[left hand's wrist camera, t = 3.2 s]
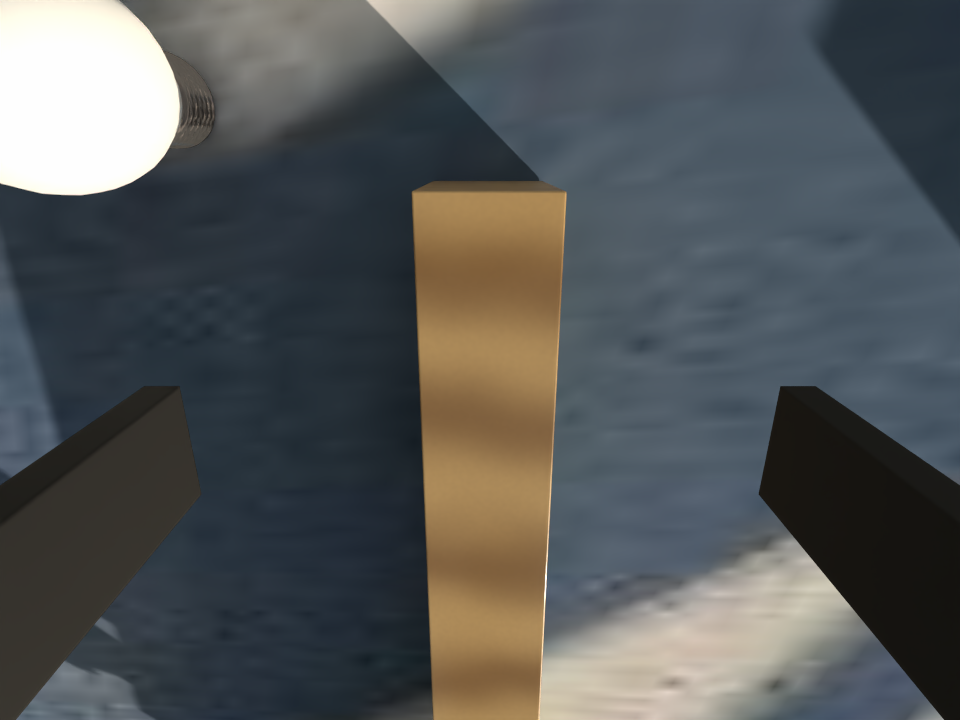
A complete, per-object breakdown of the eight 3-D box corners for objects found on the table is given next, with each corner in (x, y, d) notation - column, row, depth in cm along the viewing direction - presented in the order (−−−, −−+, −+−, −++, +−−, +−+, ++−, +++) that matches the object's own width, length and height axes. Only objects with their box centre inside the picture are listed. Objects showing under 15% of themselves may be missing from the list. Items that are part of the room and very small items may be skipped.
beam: (432, 180, 25) (411, 191, 18) (543, 180, 25) (566, 191, 18) (452, 891, 43) (445, 1036, 36) (516, 891, 43) (522, 1037, 36)
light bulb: (269, 73, 23) (98, 9, 13) (208, 214, 25) (20, 254, 15) (113, -25, 22) (-208, -181, 12) (63, 131, 24) (-249, 113, 14)
